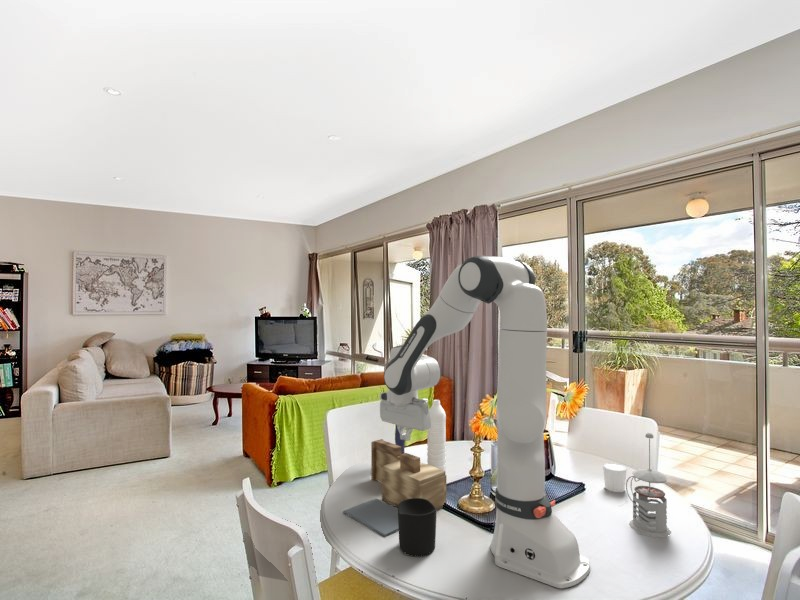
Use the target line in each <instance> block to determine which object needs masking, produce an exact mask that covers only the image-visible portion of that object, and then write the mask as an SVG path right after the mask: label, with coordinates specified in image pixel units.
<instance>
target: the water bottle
mask: <svg viewBox="0 0 800 600" xmlns="http://www.w3.org/2000/svg"><path fill="white" fill-rule="evenodd" d="M422 399H423V400H425V402H426V403H429V399H428V398H422ZM429 411H430V418H431V427H430V429H429V430H426V431H427V435H426V436H427V437H426V438H427V439H426V440H427V442H426V443H427V445H426V446H427V448H426V449H427V454H426V455H427V459H426V462H427V465H430V466H432V467H435V468H438V469H441V470H444V471H445V472H447V471H446V470H447V463H446V462H447V461H446V460H447V459H446V457H447V455H446V454H447V453H446V451H447V449H446V447H447V445H446V444H447V443H446V440H447V436H446V435H447V434H446V433H447V431H446V425H447V424H446V422H447V421H446V419H447V415H446V411H445V409H444V408H443V407H442V404H441V401H440V399H433V401H432V405H431V406H430V407H429Z"/></svg>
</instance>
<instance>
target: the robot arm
mask: <svg viewBox="0 0 800 600" xmlns="http://www.w3.org/2000/svg"><path fill="white" fill-rule="evenodd" d="M545 298H546V297H545V294H544V292H543V290H542V289H541V288H540V287H538V286H536V275H535V273H534V270H533V269H532V267H530V266H529V265H528V264H527V263H525V262H523V261H520V260H517V259H510V258H506V257H504V256H492V255H489V256H486V255H482V254H481V255H475V256H471V257H468V258H467V259H465V260H464V261H463V262H462V263H461V264H460V265H458V266H456V268H454V270H453V271H452V272H451V274H450V275H449V277H448V278H447V280H446V282H445V283H444V285H443V287H442V288H441V290H440V293H439V295H438V297H437V298H436V300H435V301H434V302H433V304H432V305H431V307H430V309H428V311H427V312H426V313H425V314H424V315H423V316H422V317H421V318H419V320H418V321H417V322H416V324H415V326H414V327H413V328H412V330H411V331H410V333H409V335H408V337H406V340H405V341H404V343H403V344H402V345H401V344H400V345H397V346H396V345H395V346H394V347H392V348H391V349H390V351H389V352H390V353H389V361H388V363H387V365H386V367H385V369H384V372H383V380H384V381H383V382H384V384H385V386H386V388H387V389H388V390H387V391H384V392H380V393H379V400H380V402H379V417H380V419H381V421H382V422H384V423H388V424H393V425H395V426H396V425H397V429H398V431H399V433H400V439H402V440H405V442H408V441H411V435H412V432H413V430H416V431H420V432H425V431H427V430H429V429H430V427H431V418H430V411H429V409H430V407H429V404H428V402H425V400H423V399H424V398H419V391H421V390H425V389H429V388H433V387H435V386H437V385H438V384H439V383H440V380H441V377H442V369H441V365H440V363H439V362H438V360H437V359H435V357H432V356H429V355H426V354H425V352H426V350H427V349H428V348H429V347H430V346H431V345H432V344H433V343H435V342H436V341H439V340H441V339H442V338H445V337H447V336H450V335H453V334H455V333H459V332H461V331H462V330H463V329H465V328H466V327H467V325H469V323H470V322H471V320H472V319H473V317H474V315H475V313H476V311H477V309H478V307H479V305H480V303H481V302H482V303H486V304H491V303H495V304H496V306H497V307H498V310H499V331H498V333H499V334H498V363H497V384H496V385H497V390H496V411H495V412H496V415H495V416H496V422H497V443H496V444H497V447H496V448H497V450H496V452H497V453H496V461H497V462H496V465H497V466H496V473H497V474H496V488H495V494H494V495H495V496H494V497H495V498H494V499H495V501H494V502H495V508H496V515H495V522H494V531H493V535H492V539H491V543H490V545H489V547H490V548H489V549H490V551H491V553H492V555H493V557H494V564H495V566H497V567H499V568H502V569H505V570H508V571H511V572H513V573H516V574H518V575H521V576H524V577H527V578H529V579H532V580H535V581H538V582H539V583H540V582H541V583H544V584H546V585H549V586H551V587H554V588H557V589H566V588H570V587H574V586H576V585H577V584H579V583H581V582H582V581H584V579H585V578H587V577H588V575H589V574H590V572H591V562H590V559H589V558H587V557H585V556H584V555H582V554H581V553H580V548H579V543H578V539H577V537H576V536H575V534H574V533H573V532H572V531H571V530H569V528H568V527H567V526H566V525H565V524H564V523H563V522H562V520H560V519H559V517H557V515H556V514H554V512H553V507H555V506H556V500H555V499H554V500H552V501H550V500H549V498H548V494H547V492H546V469H545V467H546V462H545V461H546V459H545V458H546V456H545V440H544V439H545V438H544V437H545V436H544V435H545V434H544V433H545V432H544V430H545V427H546V424H547V420H548V419H547V417H548V414H547V412H548V410H547V407H548V406H547V405H548V403H547V398H548V396H547V393H548V392H547V387H548V386H547V385H548V384H547V353H548V352H547V350H548V348H547V343H548V315H547V306H546V304H547V303H546V300H545ZM404 428H405V430H404Z"/></svg>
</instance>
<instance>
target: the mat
mask: <svg viewBox="0 0 800 600" xmlns="http://www.w3.org/2000/svg"><path fill="white" fill-rule="evenodd" d="M342 513H343V514H345V515H347V516H348V517H350V518H352V519H353V520H355V521H357V522H359V523H360V524H362V525H363V526H366V527H367V528H369V529H370V530H372V531H374V532H376V533H378V534H380V536H382V537H384V538H386V537H388V536H390V535H392V534H394V533H398V532H399V528H398V507H396V506H393V505H391V504H389V503H387V502H385V501H383V500H382V499H381V500H380V499H378V498H374V499H373V498H372V499H371V500H368V501H365V502H363V503H361V504H358V505H355V506H352V507H349V508H347V509H344V510H343V511H342Z"/></svg>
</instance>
